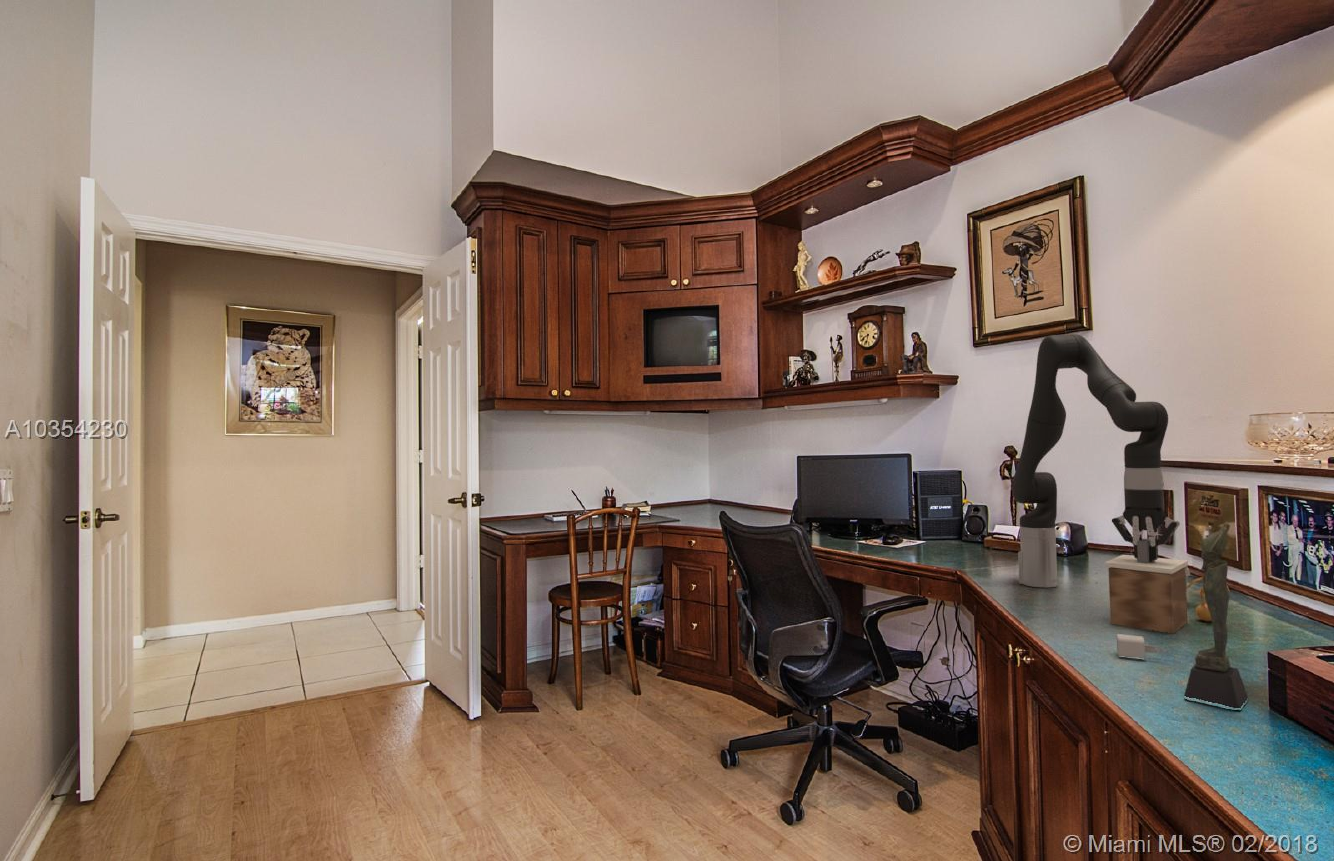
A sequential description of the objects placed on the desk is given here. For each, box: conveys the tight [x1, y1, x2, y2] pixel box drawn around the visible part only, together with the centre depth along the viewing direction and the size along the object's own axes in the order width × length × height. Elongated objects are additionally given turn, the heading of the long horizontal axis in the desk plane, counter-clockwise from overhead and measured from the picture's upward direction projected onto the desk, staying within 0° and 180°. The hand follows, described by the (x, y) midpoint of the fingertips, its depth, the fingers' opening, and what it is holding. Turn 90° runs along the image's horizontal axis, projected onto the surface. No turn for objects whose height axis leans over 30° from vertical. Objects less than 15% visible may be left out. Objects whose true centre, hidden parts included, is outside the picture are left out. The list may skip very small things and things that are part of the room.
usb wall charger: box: [1116, 633, 1162, 659], centre depth 135 cm, size 4×7×4 cm, turn 60°
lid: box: [1104, 538, 1189, 574], centre depth 158 cm, size 13×13×7 cm
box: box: [1108, 567, 1189, 634], centre depth 158 cm, size 12×12×13 cm
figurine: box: [1186, 576, 1231, 622], centre depth 158 cm, size 8×6×12 cm
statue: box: [1183, 521, 1249, 708], centre depth 113 cm, size 7×8×30 cm
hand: (1146, 561), depth 158 cm, fingers closed on lid
